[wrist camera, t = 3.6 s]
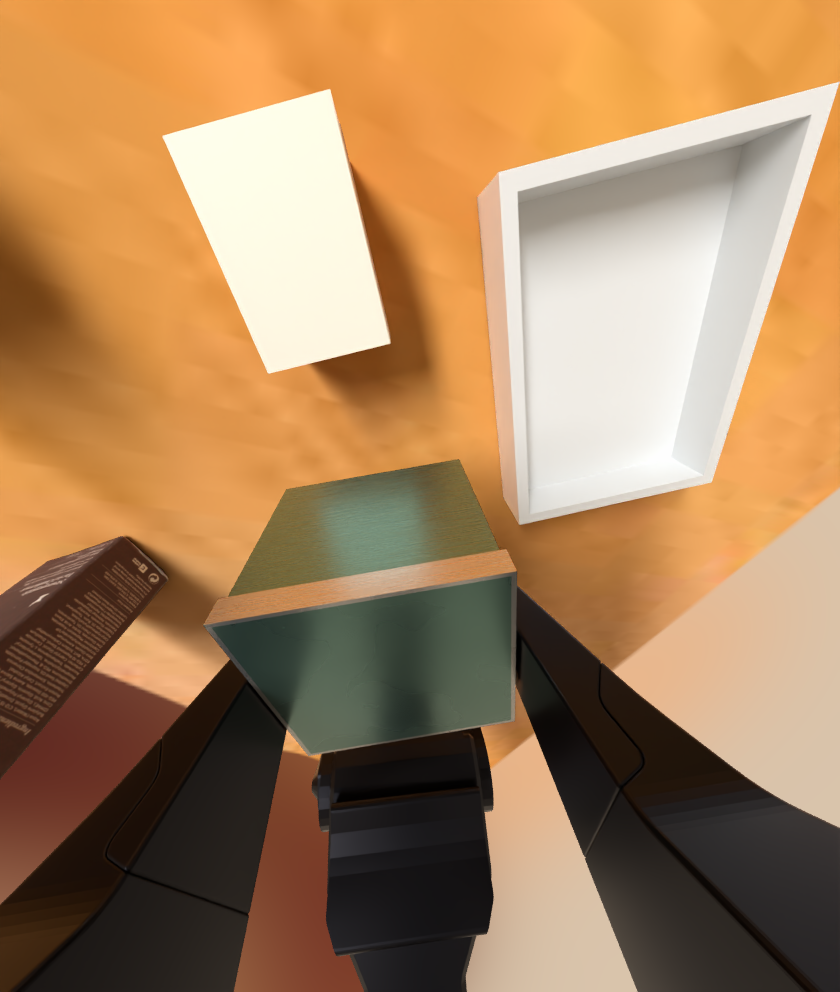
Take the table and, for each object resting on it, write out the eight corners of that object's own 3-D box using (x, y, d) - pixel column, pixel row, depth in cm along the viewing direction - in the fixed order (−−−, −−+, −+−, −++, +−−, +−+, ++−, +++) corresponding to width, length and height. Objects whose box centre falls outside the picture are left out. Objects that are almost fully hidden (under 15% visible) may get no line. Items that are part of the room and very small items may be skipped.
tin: (473, 583, 13) (514, 721, 9) (334, 606, 13) (308, 755, 9) (462, 455, 10) (517, 571, 6) (282, 487, 10) (202, 624, 6)
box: (120, 529, 20) (-165, 774, 10) (172, 577, 22) (-14, 816, 12) (38, 556, 20) (-315, 816, 10) (97, 601, 23) (-142, 849, 12)
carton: (390, 332, 16) (391, 344, 11) (300, 354, 16) (268, 374, 11) (350, 161, 12) (330, 87, 8) (238, 191, 13) (161, 135, 8)
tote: (671, 459, 21) (711, 482, 18) (503, 497, 21) (519, 524, 18) (748, 125, 13) (839, 81, 10) (477, 197, 13) (498, 172, 11)
